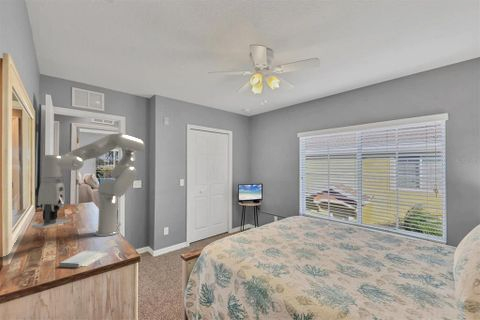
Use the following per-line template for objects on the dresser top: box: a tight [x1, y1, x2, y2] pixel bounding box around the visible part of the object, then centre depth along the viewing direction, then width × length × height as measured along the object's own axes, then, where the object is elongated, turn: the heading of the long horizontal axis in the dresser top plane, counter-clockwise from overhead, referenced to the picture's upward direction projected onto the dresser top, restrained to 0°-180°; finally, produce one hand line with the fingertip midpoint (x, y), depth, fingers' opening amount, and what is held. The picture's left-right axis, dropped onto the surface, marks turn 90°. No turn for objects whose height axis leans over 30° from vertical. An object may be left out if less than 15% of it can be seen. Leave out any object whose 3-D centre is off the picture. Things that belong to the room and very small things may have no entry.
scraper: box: [31, 205, 72, 229], centre depth 104 cm, size 6×14×9 cm, turn 175°
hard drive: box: [58, 250, 102, 268], centre depth 92 cm, size 2×8×12 cm
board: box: [81, 252, 109, 268], centre depth 94 cm, size 13×11×1 cm
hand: (49, 218), depth 104 cm, fingers closed on scraper, 3 cm apart
